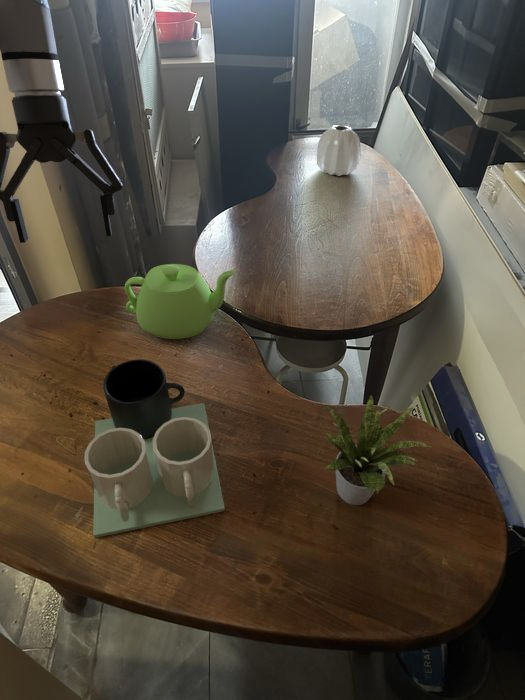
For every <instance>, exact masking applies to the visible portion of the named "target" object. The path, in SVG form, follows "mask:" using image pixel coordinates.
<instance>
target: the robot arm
mask: <svg viewBox="0 0 525 700" xmlns="http://www.w3.org/2000/svg"><path fill="white" fill-rule="evenodd" d="M0 55H1V60H2V64H3V65H2V66H3V69H4V74H5V78H6V83H7V87H8V91H9V92H10V93H13V94H14V96H13V97H12V99H11V104H12V109H13V113H14V118H15V123H16V126H17V132H16V133H9V132H6V131H0V201H1V202H2V204H3V208H4V211H5V215H6V219H7V220H8V222H9V223H10V222H12V223H13V222H14V225H15V228H16V231H17V236H18V240H19V243H20V244H25V243H26V242H27V241H28V240H29V235H28V232H27V228H26V224H25V220H24V215H23V211H22V206H21V203H20V199H19V198H14V196H15V194H16V192H17V191H18V189H19V187H20V185H21V184H22V182H23V180H24V179H25V177H26V176H27V174H28V172H29V170H30V169H31V167H32V166H33V164H34V163H35V161H36V162H39V163H40V164H44V163H49V162H54V163H62V162H64V161H66V160H67V161H68V162H69V163H71V164H72V165H73V166H74V167H75V168H76V169H77V170H79V171H80V172H81V173H82V174H83V175H84V176H85V177H86V178H87V179H88V180H89V181H90V182H91V183H93V185H94V186H95V187H96V188H97V189H98V190H100V191H101V192H102V193H101V194H100V196H99V199H100V204H101V205H100V206H101V211H102V218H103V224H104V228H105V234H106V237H112V234H113V231H112V224H111V219H110V216H113V215H115V213H116V208H115V206H116V205H115V199H114V194H115V193H116V192H119V191H121V190H122V189H123V183H122V181H121V179H120V178H119V176H118V175H117V173H116V171H115V170H114V169H113V167H112V165H111V164H110V162H109V160H108V159H107V158H106V156H105V155H104V153H103V152H102V151H101V148H99V146H98V144H97V142H96V139H95V135H94V131H93V129H91V128H86V129H84V130H81V131H74V130H73V128H72V125H71V121H70V120H71V119H70V114H69V109H68V103H67V99H66V98H65V96H62V94H61V93H63V92H64V91H65V87H64V81H63V77H62V72H61V71H62V70H61V66H60V61H59V56H58V51H57V44H56V38H55V33H54V26H53V20H52V15H51V8H50V5H49V1H48V0H0ZM77 140H79V141H80V143H81V144H82V145H83V146H87V148H88V150H89V152H90V153H91V155H92V157H94V159H95V161H96V162H97V164H98V165H99V167H100V168H101V170H102V171H103V173H104V174H105V176H106V177H107V179H108V180H109V182H110V183H111V184H109V183H107V181H105V180H104V178H102V177H101V176H100V175H99V174H98V173H97V172H96V171H95V170H94V169H93V168H92V167H91V166H90V165H89V164H88V163H86V161H84V160H83V159H82V157H81V156H80V155H79V154H78V153H76V151H75V150H73V147H74V146H75V143H76V141H77ZM16 142H17V144H19V145H20V146H21V147H22V148H23V149H24V150H25V151H26V152H25V153H24V155H23V156H22V158H21V161H20V163H19V164H18V166H17V168H16V169H15V171H14V173H13V174H12V176H11V178H10V180H9V181H8V183H7V185H6V186H5V188H4V190H3V189H2V185H3V180H4V177H5V174H6V169H7V165H8V161H9V158H10V153H11V149H13V148H14V147H15V143H16Z"/></svg>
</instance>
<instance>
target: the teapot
mask: <svg viewBox="0 0 525 700" xmlns="http://www.w3.org/2000/svg"><path fill="white" fill-rule="evenodd" d="M235 273H236V270H234V269H232V270H227V271H224V272H222V273H220V275H218V277H217V280H216V286H215V290H213V291H211V289H210V287H209V285H208V283H207V282H206V280H205V278H204V277H203V276H202V275H201V273H200V272H199V271H198V270H197V269H196V268H194V267H193V266H190V265H187V264H180V263H167V264H161V265H157V266H154V267H152V268H151V269H150V270H148V272H147V273H146V275H145V277H142V276H132V277H130V278H128V279H127V280H126V281H125V282H124V283H125V284H124V292H125V294H126V297H127V298H128V301H127V302H126V304H125V308H126V310H127V312H128V313H130V314H134V315H135V314H136V321H137V324H138V325H139V327H140V328H141V329H142V330H144V331H145V332H146V333H148V334H149V335H151V336H153V337H156V338H160V339H166V340H182V339H188V338H191V337H195V336H198V335H200V334H201V333H202V332H203V331H204V330H206V329H207V327H208V326H209V325H210V323H211V321H212V320H213V316H214V313H215V312H216V311H218V310H220V308H221V307H222V305H223V304H224V301H225V294H226V284H227V282H228V279H229V278H230V277H232V276H233V275H235ZM132 285H141V286H140V288H139V291H138V293H137V296H136V295H135V293H134V291H133V290H132V288H131V286H132Z"/></svg>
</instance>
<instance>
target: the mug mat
mask: <svg viewBox="0 0 525 700" xmlns="http://www.w3.org/2000/svg"><path fill="white" fill-rule="evenodd" d="M171 410H172V416H171V420H172V419H175V418H181V417H189V418H195V419H197V420H199V421H201V422H203V423H204V424H205V425H206V426H207V428H208V429H209V430H210V426H209V420H208V416H207V411H206V405H205V403H204V402H202V403H196V404H191V405H184V406H179V407H171ZM109 429H115V426H114V422H113V419H112V417H110V418H105V419H99V420H98V419H97V420H95V421H94V438H95V437H96V436H98V435H99V434H101V433H103V432H105V431H107V430H109ZM153 438H154V437H151V438H148V439H144V441H145V444H146V448H147V452H148V456H149V460H150V464H151V469H152V473H153V481H154V484H153V487H152V490H151V492H150V494H149V495H148V496H147V497H146V498H145V500H144V501H143V502H141V503H139V504H138V505H136V506H134V507H132V508H129V520H128V521H127V522H123V521H122V519H121V516H120V513H119V511H118V509H113V508H109V507H108V506H106V505H105V504H103V503H102V502H101V500H100V498H99V496H98V494H97V492H96V489H95V487H94V486H93V528H92V529H93V531H92V533H93V535H92V536H93V538H94V539H97V538H102V537H106V536H111V535H115V534H121V533H126V532H130V531H135V530H139V529H144V528H150V527H154V526H159V525H164V524H169V523H174V522H179V521H184V520H189V519H193V518H198V517H203V516H207V515H213V514H217V513H221V512H226V508H225V503H224V497H223V493H222V487H221V481H220V477H219V473H218V466H217V462H216V457H215V451H214V447H213V445H212V452H213V464H214V475H213V478H212V481H211V483H210V484H209V485H208V487H207V488H206V489H205V490H203V491H202V492H200V493H198V494H197V495H194V499H195V507H194V508H189V507H188V503H187V497H181V496H175V495H173V494H171V493H170V492H168V491H166V490H165V488H164V487H163V485H162V484H161V482H160V477H159V473H158V468H157V464H156V460H155V455H154V451H153ZM198 455H199V454H195V453H184V454H179V455H177V456H176V457H174V458H172V459H171V460H170V461H177V462H183V461H188V460H191V459H193V458H195V457H197V456H198ZM133 465H134V464H131V463H129V464H123V465H119V466H117V467H116V468H114V469H112V470H111V471H110V472H109V473H108V475H112V474H118V473H122V472H124V471H126V470H128V469H129V468H131V467H132V466H133Z"/></svg>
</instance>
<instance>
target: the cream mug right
mask: <svg viewBox="0 0 525 700" xmlns="http://www.w3.org/2000/svg"><path fill="white" fill-rule="evenodd" d="M212 441H213V440H212V434H211V431H210V428H209V429H208V428H207V426H206V425H205V424H204V423H203V422H201V421H199V420H197V419H195V418H189V417H181V418H175V419H172V420H170V421H168V422H166V423H164V424H163V425H162V426H161V427H160V428H159V429H158V430H157V431H156V433H155V435H154V438H153V451H154V455H155V460H156V464H157V468H158V473H159V477H160V482H161V484H162V485H163V487H164V488H165V490H166V491H168V492H170V493H171V494H173V495H175V496H181V497H187V503H188V507H189V508H194V507H195V499H194V495H197V494H198V493H200V492H202V491H203V490H205V489H206V488H207V487H208V485H209V484H210V483H211V481H212V478H213V475H214V464H213V452H212V446H213V442H212ZM184 453H195V454H199V455H198V456H197V457H195V458H193V459H191V460H188V461H183V462H177V461H170V460H171V459H172V458H174V457H176V456H177V455H179V454H184Z"/></svg>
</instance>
